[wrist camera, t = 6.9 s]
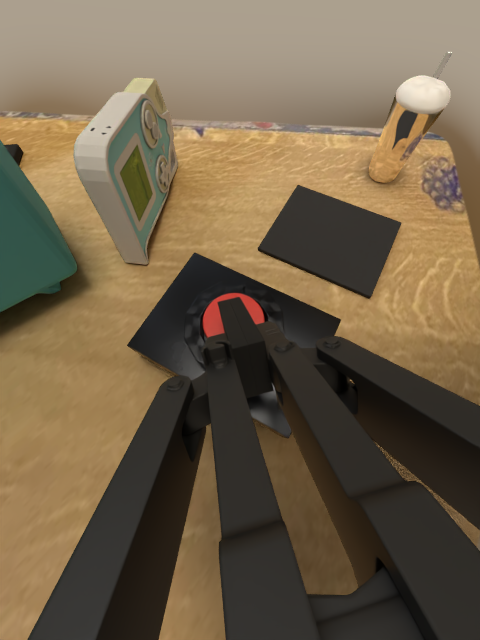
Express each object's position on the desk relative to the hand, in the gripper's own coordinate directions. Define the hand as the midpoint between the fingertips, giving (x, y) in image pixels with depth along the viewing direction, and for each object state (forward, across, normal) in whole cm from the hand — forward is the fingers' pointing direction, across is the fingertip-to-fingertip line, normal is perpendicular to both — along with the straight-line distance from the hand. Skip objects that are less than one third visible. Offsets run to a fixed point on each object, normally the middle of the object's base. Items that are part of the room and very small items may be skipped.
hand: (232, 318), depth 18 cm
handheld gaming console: (+18, +5, -8) cm, 21 cm away
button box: (+5, 0, +5) cm, 7 cm away
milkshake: (+17, -22, -7) cm, 29 cm away
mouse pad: (+11, -13, -2) cm, 17 cm away
